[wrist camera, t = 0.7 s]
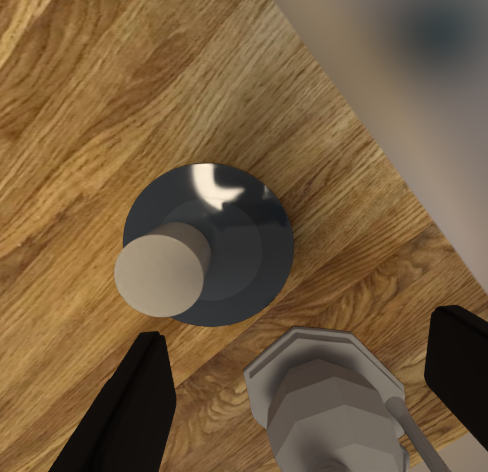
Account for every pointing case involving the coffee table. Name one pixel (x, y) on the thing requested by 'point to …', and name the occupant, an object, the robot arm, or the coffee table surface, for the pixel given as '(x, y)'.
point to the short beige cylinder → (163, 269)
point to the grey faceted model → (332, 406)
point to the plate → (222, 236)
